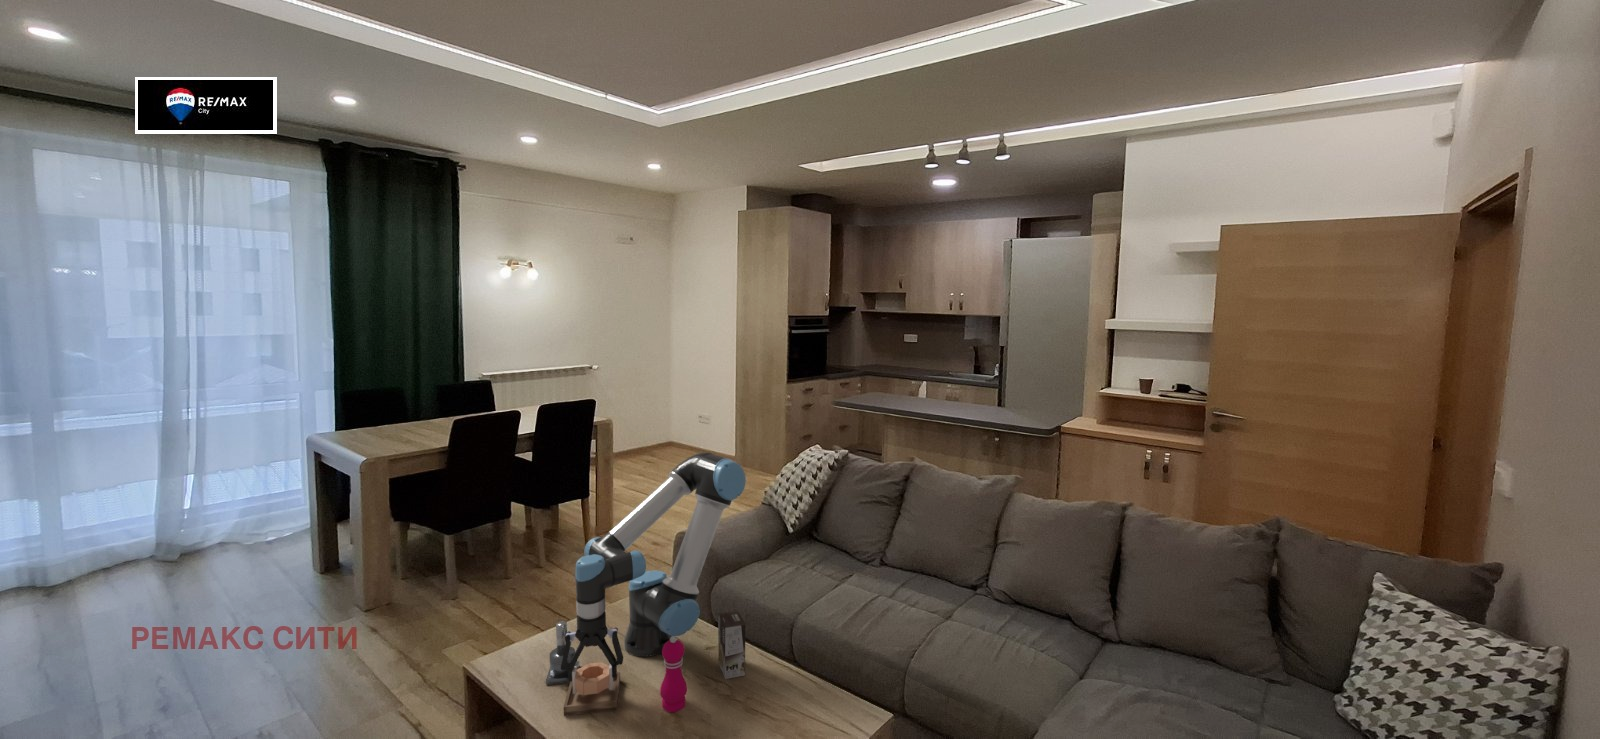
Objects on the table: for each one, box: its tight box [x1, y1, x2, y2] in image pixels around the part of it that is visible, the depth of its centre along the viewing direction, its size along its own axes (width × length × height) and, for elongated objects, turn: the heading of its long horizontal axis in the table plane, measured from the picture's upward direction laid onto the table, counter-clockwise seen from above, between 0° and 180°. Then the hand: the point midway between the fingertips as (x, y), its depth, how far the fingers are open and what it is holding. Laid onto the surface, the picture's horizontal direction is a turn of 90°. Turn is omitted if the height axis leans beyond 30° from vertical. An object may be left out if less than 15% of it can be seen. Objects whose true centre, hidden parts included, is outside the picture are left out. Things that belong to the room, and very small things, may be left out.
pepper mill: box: [659, 636, 688, 713], centre depth 172 cm, size 7×7×20 cm
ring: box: [575, 661, 609, 695], centre depth 175 cm, size 9×9×4 cm
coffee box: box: [717, 610, 746, 680], centre depth 189 cm, size 9×6×16 cm
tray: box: [563, 671, 621, 716], centre depth 176 cm, size 13×13×2 cm
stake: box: [545, 620, 580, 686], centre depth 185 cm, size 8×8×16 cm
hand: (593, 689), depth 176 cm, fingers closed on ring, 9 cm apart
